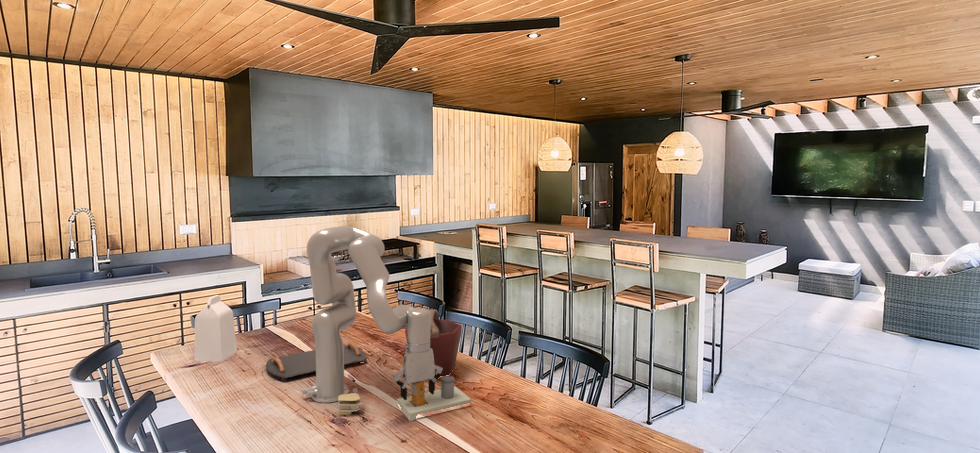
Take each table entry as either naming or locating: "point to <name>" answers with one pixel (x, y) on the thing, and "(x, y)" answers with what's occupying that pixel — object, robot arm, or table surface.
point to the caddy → (435, 399)
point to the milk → (214, 332)
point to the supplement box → (418, 393)
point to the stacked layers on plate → (348, 403)
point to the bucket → (443, 342)
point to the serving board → (308, 362)
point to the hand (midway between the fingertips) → (417, 395)
